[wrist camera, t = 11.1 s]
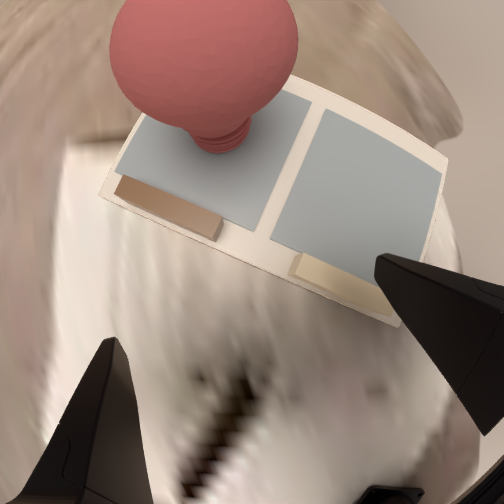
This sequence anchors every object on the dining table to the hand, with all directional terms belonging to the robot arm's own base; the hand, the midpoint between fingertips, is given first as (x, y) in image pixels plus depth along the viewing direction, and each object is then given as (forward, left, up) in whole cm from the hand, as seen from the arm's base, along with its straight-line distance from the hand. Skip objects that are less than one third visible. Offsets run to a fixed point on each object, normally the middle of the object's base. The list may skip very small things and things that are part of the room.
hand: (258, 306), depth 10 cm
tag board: (+1, -8, -9) cm, 12 cm away
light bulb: (+6, -8, -8) cm, 13 cm away
